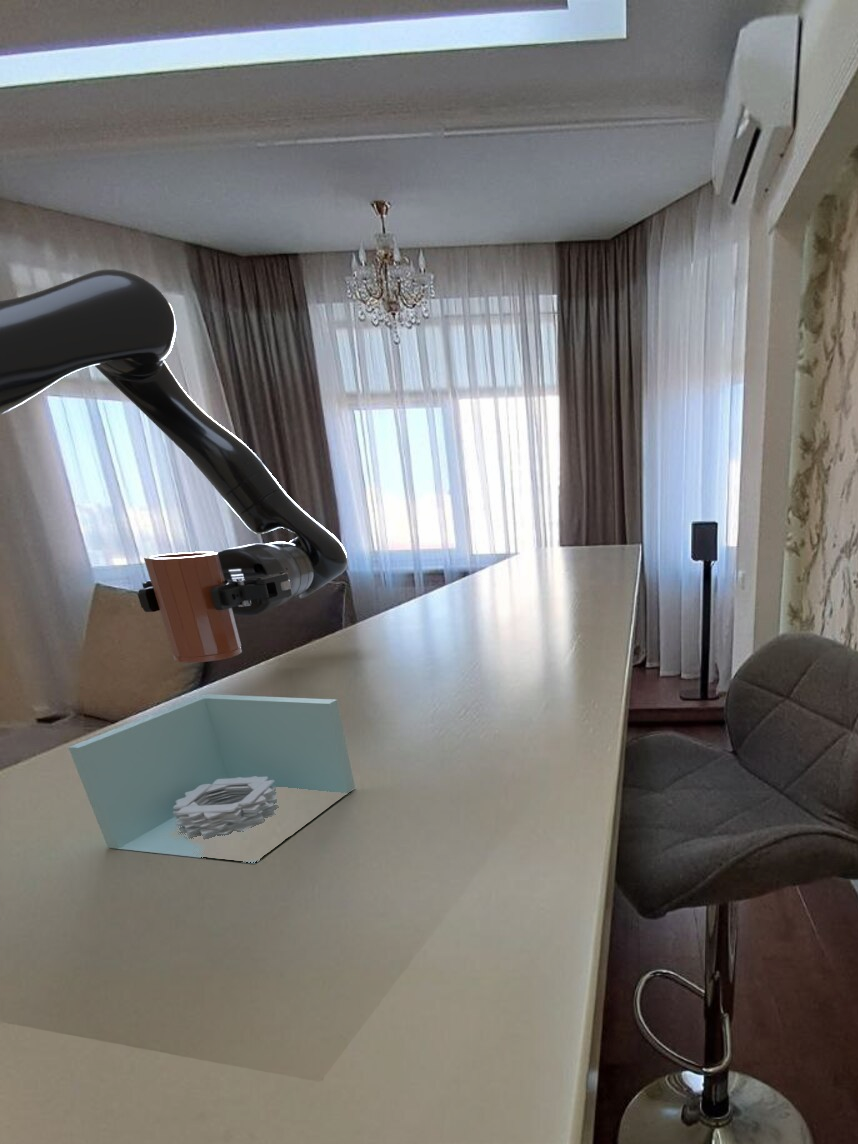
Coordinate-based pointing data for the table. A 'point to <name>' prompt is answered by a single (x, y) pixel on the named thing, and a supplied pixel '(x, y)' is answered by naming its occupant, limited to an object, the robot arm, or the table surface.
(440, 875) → the table surface
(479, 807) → the table surface
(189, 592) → the cup
